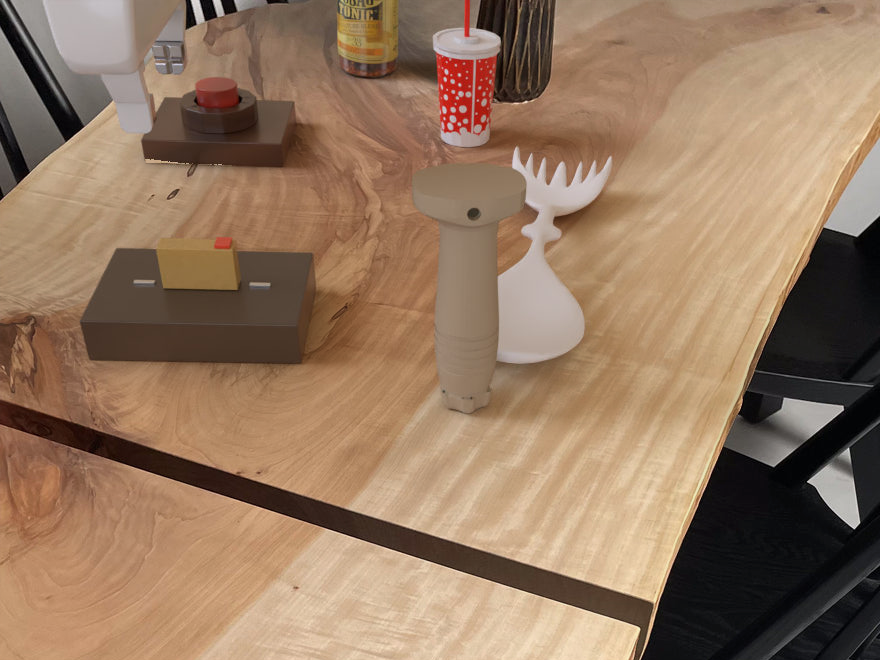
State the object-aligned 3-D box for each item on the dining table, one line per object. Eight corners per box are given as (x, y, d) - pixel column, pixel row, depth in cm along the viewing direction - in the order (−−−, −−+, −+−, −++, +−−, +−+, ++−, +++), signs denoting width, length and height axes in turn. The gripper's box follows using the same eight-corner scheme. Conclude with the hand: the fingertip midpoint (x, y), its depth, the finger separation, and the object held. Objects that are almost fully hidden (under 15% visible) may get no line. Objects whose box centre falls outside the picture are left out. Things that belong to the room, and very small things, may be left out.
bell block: (145, 164, 96) (136, 119, 94) (168, 120, 104) (161, 77, 101) (283, 168, 97) (279, 123, 94) (296, 124, 104) (292, 81, 102)
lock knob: (163, 288, 74) (155, 245, 72) (167, 277, 76) (159, 234, 73) (237, 290, 75) (232, 246, 73) (241, 279, 76) (235, 236, 74)
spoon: (612, 189, 97) (616, 151, 94) (574, 393, 72) (578, 349, 70) (511, 178, 97) (512, 140, 95) (440, 377, 73) (440, 332, 71)
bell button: (194, 110, 96) (191, 90, 95) (201, 95, 99) (199, 76, 98) (236, 112, 97) (233, 92, 96) (242, 96, 99) (240, 77, 98)
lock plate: (88, 360, 73) (78, 318, 71) (123, 284, 81) (115, 245, 78) (301, 363, 74) (297, 323, 72) (316, 289, 81) (313, 250, 79)
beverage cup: (488, 122, 107) (493, -33, 97) (504, 148, 102) (511, -13, 93) (426, 126, 105) (425, -32, 96) (440, 152, 101) (440, -11, 92)
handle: (412, 382, 73) (408, 164, 63) (509, 378, 74) (519, 162, 64) (418, 425, 69) (415, 201, 59) (519, 420, 70) (532, 198, 60)
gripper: (99, -201, 65) (142, 40, 74) (-14, -127, 50) (58, 166, 59) (206, -198, 66) (236, 42, 75) (127, -123, 50) (177, 168, 59)
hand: (157, 98), depth 67 cm, fingers open, 8 cm apart
